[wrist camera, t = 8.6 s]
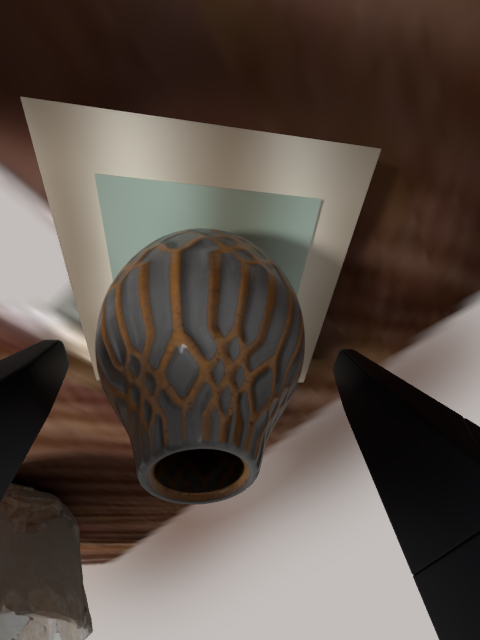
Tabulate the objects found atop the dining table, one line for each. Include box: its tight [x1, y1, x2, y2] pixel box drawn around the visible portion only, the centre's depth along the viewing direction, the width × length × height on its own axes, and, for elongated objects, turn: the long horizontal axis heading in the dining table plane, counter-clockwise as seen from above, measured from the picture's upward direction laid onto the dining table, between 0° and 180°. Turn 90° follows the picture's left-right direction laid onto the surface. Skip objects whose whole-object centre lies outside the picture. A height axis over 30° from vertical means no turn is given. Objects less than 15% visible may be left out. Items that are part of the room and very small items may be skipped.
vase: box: [95, 228, 305, 504], centre depth 9 cm, size 7×7×9 cm
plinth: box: [20, 97, 381, 382], centre depth 14 cm, size 13×13×3 cm
